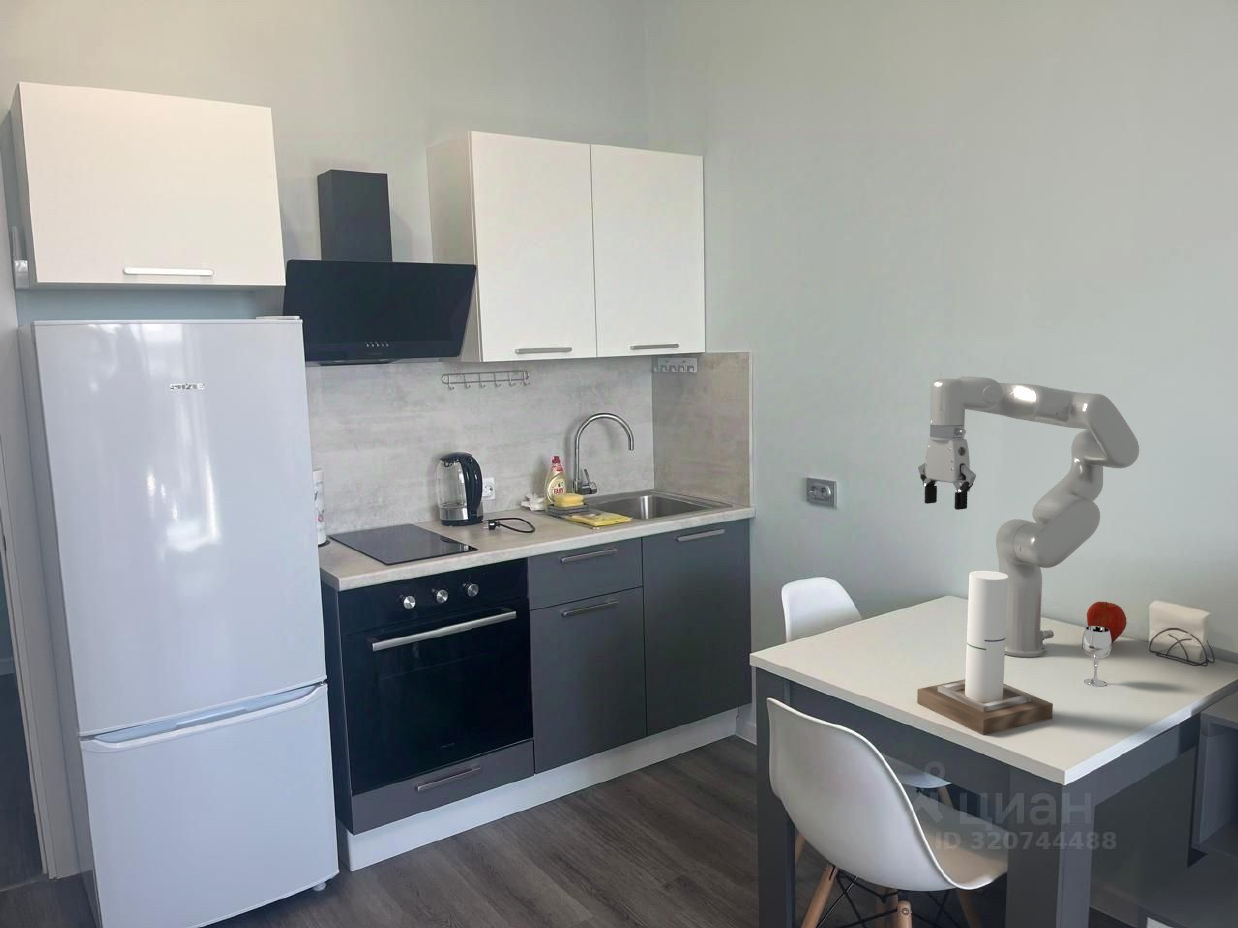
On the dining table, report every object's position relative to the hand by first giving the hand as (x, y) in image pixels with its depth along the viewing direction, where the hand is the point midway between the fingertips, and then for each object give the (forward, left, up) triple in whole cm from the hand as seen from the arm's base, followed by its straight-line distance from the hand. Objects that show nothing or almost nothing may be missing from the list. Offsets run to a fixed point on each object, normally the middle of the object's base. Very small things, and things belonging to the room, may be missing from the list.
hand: (945, 505), depth 217 cm
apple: (-41, +11, -36) cm, 56 cm away
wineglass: (-17, +28, -36) cm, 49 cm away
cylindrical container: (+16, +29, -33) cm, 47 cm away
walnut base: (+16, +29, -36) cm, 49 cm away
